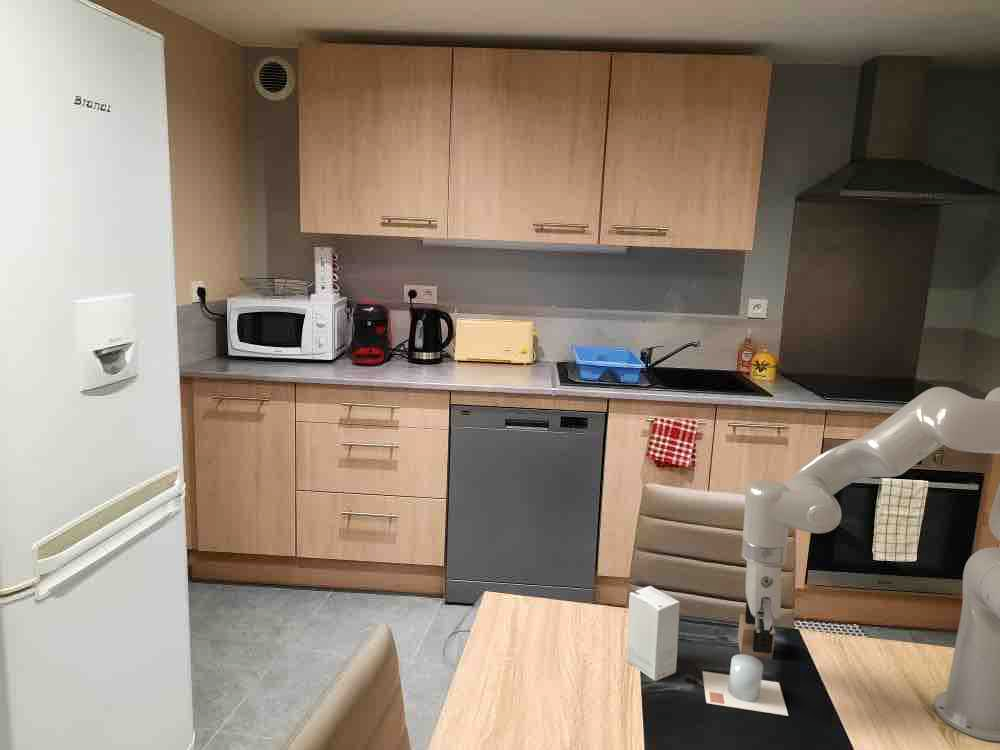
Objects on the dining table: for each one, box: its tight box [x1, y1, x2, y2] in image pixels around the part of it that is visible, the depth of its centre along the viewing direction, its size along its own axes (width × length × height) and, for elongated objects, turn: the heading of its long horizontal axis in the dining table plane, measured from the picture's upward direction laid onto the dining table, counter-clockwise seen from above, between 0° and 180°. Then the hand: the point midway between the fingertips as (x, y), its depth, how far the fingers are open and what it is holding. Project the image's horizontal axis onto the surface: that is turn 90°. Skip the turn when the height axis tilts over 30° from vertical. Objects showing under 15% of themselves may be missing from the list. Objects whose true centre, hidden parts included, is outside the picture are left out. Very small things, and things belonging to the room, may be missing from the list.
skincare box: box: [625, 585, 681, 682], centre depth 144 cm, size 8×6×15 cm
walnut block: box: [737, 613, 776, 660], centre depth 152 cm, size 6×6×6 cm
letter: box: [701, 670, 789, 717], centre depth 138 cm, size 14×10×1 cm
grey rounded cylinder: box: [728, 654, 764, 702], centre depth 138 cm, size 6×6×6 cm
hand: (757, 637), depth 138 cm, fingers open, 9 cm apart
